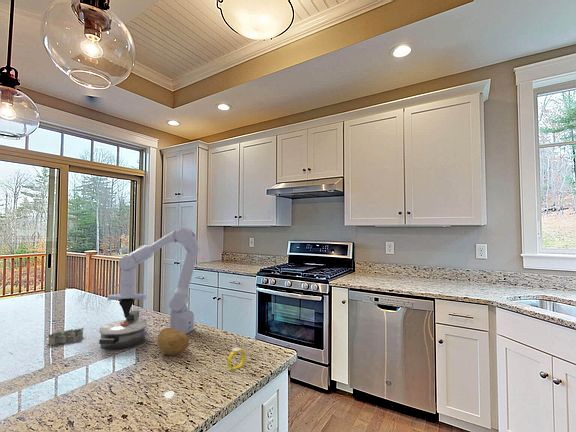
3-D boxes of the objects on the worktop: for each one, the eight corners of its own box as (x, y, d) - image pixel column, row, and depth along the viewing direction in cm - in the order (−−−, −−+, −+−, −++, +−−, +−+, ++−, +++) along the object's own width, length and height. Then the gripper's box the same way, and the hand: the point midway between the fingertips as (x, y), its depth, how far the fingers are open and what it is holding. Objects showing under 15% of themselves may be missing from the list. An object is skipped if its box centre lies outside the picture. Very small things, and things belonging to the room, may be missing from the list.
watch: (231, 373, 90) (230, 354, 90) (226, 370, 92) (225, 351, 92) (247, 365, 94) (246, 347, 94) (241, 362, 96) (241, 344, 96)
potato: (169, 364, 95) (169, 339, 95) (150, 352, 104) (151, 329, 105) (196, 355, 102) (196, 331, 103) (176, 344, 112) (177, 323, 112)
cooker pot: (126, 354, 103) (127, 339, 103) (84, 353, 103) (85, 338, 103) (159, 330, 127) (159, 318, 127) (124, 330, 127) (125, 318, 127)
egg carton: (45, 346, 110) (46, 335, 110) (52, 339, 117) (53, 329, 117) (80, 342, 114) (80, 331, 114) (84, 335, 121) (85, 325, 121)
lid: (140, 334, 107) (140, 325, 108) (91, 336, 104) (91, 328, 104) (155, 316, 129) (155, 309, 129) (115, 318, 126) (115, 311, 126)
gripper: (149, 282, 129) (148, 313, 128) (113, 282, 127) (112, 314, 126) (143, 285, 122) (142, 318, 121) (105, 285, 120) (104, 319, 119)
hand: (126, 317), depth 123 cm, fingers closed
